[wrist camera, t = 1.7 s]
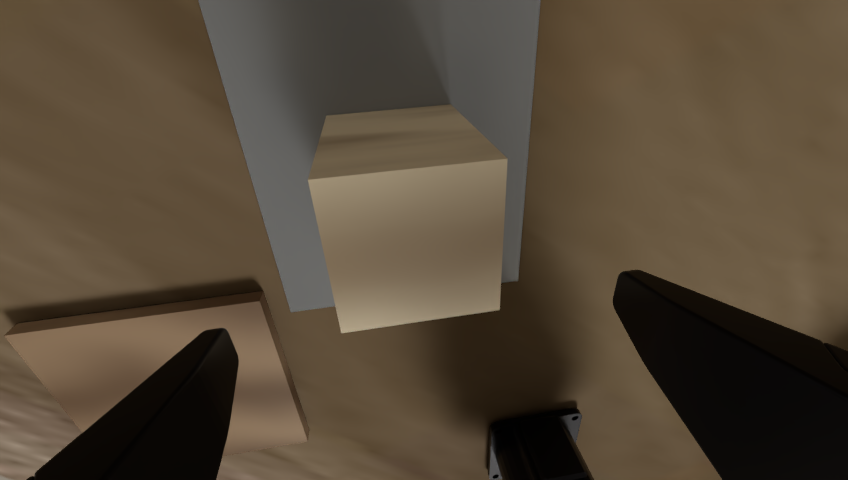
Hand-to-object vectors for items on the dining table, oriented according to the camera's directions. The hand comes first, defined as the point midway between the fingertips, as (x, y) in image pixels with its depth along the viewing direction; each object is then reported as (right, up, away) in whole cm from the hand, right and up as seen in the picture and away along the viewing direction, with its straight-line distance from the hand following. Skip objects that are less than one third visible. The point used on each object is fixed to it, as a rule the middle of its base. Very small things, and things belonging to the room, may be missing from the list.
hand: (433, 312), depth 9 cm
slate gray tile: (-2, +5, +8) cm, 10 cm away
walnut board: (-13, -6, +12) cm, 19 cm away
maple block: (-1, +5, +8) cm, 9 cm away
